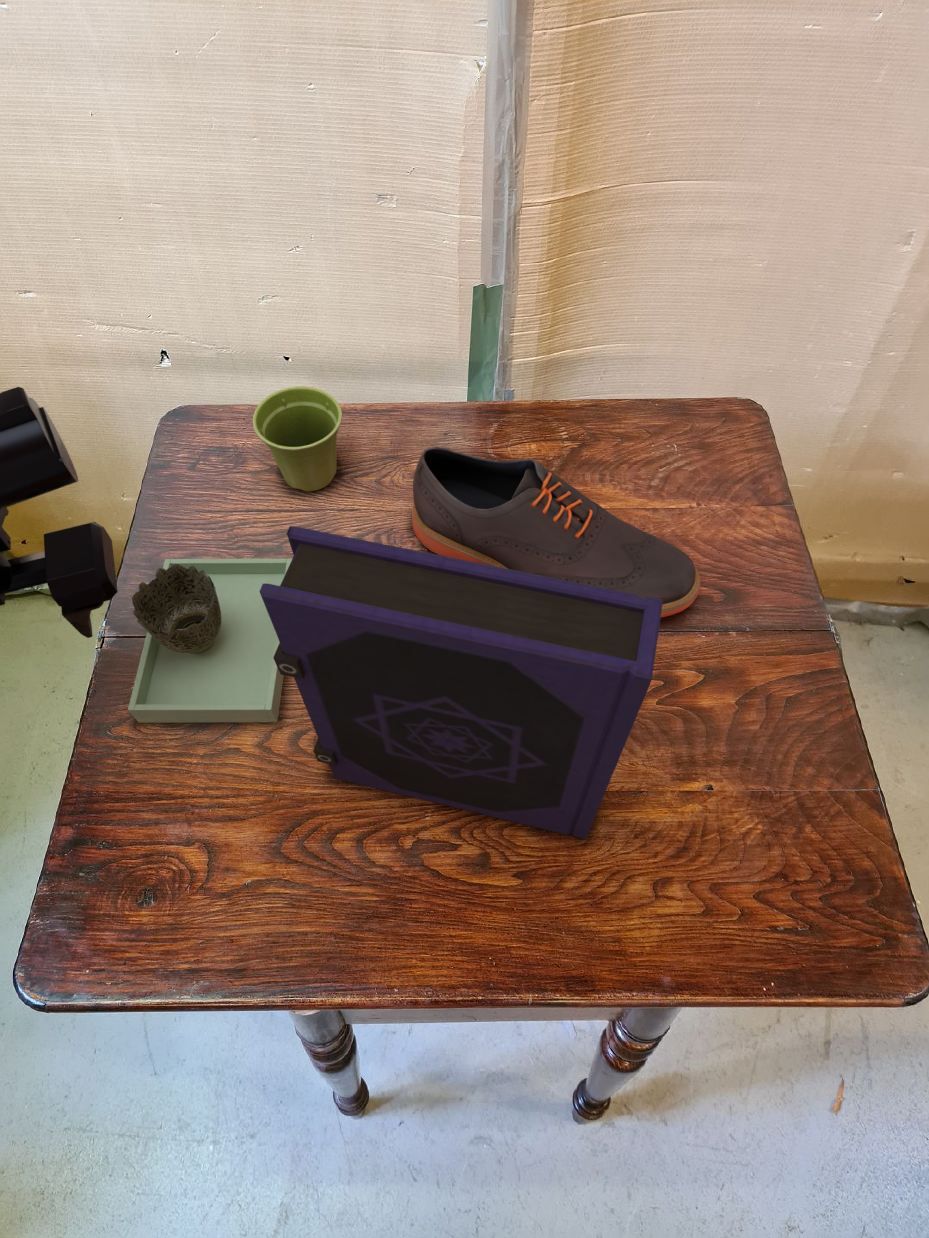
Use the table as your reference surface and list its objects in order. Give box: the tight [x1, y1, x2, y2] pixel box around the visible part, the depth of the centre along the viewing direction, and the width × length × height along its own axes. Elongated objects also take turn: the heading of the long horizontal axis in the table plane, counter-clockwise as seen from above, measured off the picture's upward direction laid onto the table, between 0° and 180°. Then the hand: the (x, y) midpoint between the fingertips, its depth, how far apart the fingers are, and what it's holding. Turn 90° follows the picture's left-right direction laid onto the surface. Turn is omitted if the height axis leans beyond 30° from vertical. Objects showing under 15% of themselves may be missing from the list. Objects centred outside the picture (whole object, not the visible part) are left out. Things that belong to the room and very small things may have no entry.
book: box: [259, 525, 663, 840], centre depth 59 cm, size 24×6×30 cm, turn 76°
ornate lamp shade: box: [131, 564, 221, 654], centre depth 75 cm, size 8×7×8 cm
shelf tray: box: [127, 557, 293, 724], centre depth 78 cm, size 13×17×3 cm
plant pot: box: [252, 385, 343, 492], centre depth 88 cm, size 9×9×9 cm
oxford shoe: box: [411, 446, 702, 618], centre depth 80 cm, size 11×31×11 cm, turn 69°
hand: (32, 647), depth 64 cm, fingers open, 9 cm apart
